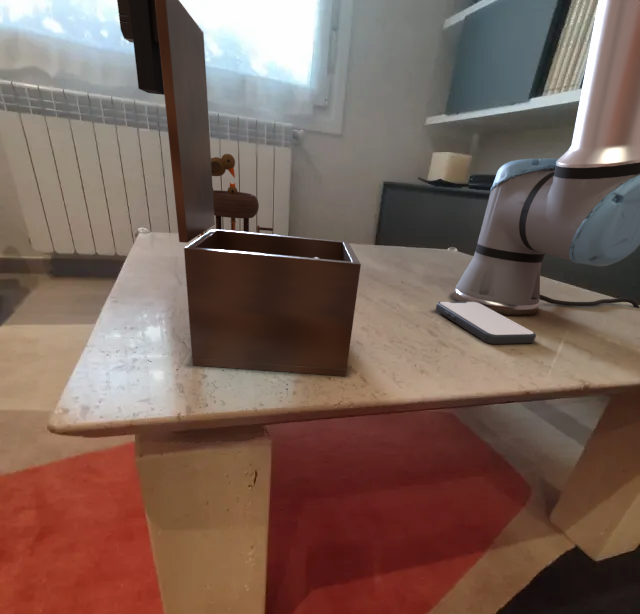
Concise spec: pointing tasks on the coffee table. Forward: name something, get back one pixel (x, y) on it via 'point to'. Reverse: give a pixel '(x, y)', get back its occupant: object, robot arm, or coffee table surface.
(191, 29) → the lid
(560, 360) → the coffee table surface
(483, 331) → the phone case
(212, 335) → the chest
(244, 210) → the bird figurine
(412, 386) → the coffee table surface
